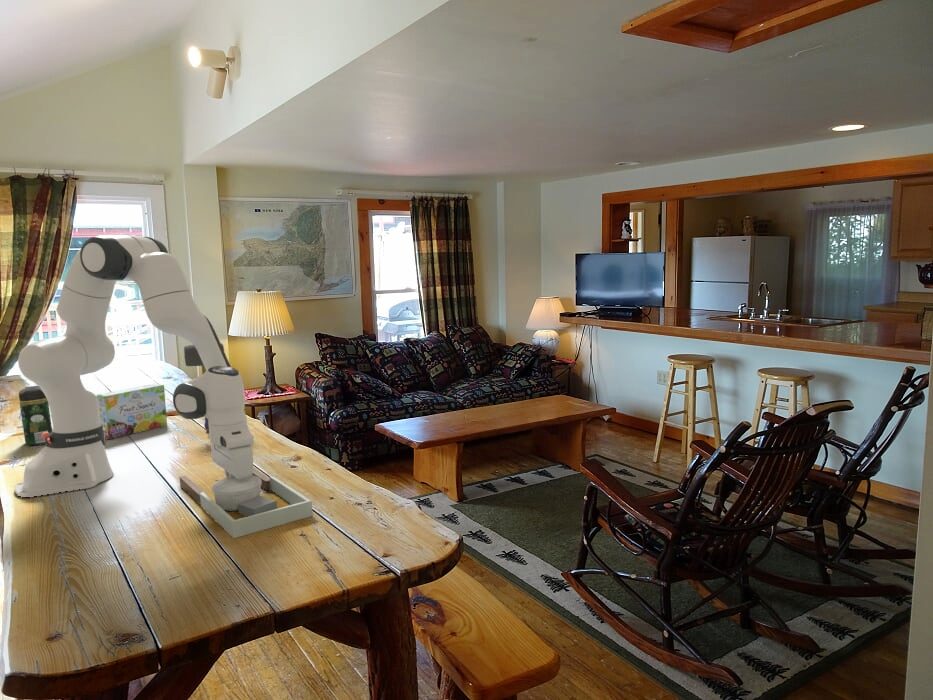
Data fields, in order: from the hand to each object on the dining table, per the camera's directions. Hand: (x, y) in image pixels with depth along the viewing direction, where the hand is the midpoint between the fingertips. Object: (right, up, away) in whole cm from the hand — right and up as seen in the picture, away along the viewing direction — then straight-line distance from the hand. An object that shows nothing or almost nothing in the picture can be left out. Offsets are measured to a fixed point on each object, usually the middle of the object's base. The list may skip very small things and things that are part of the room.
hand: (233, 487), depth 163 cm
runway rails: (-4, -1, +5) cm, 6 cm away
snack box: (-56, +5, +64) cm, 85 cm away
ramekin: (+4, -3, -7) cm, 8 cm away
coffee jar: (-83, +3, +54) cm, 99 cm away
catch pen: (+9, -3, -12) cm, 15 cm away
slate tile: (+10, -3, -12) cm, 16 cm away
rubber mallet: (-29, +6, +62) cm, 69 cm away
